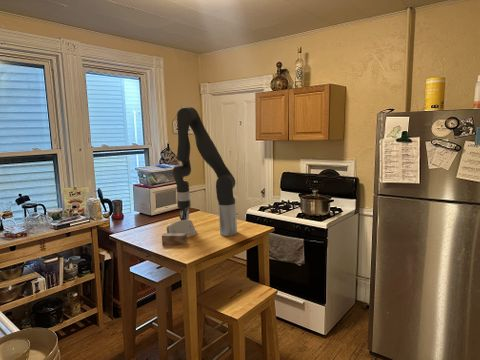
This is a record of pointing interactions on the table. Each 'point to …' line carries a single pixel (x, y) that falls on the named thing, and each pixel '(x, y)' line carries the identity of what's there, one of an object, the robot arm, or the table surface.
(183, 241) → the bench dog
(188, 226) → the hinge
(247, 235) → the table surface
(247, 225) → the table surface
